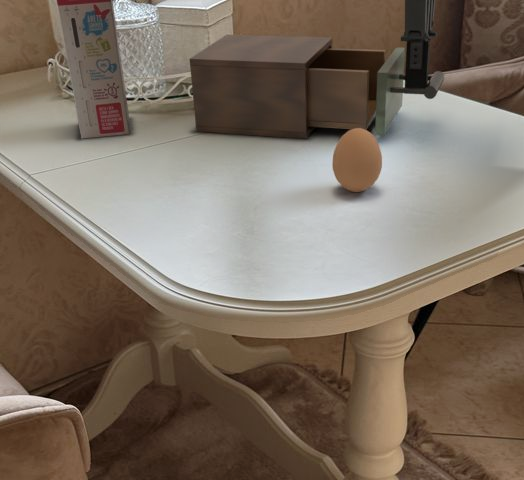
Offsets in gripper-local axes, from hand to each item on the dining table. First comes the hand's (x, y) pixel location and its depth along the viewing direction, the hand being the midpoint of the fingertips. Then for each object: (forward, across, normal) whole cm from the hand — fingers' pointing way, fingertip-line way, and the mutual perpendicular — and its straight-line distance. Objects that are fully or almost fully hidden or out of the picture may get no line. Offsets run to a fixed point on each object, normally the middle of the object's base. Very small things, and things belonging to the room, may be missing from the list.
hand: (415, 92), depth 102 cm
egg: (+5, +22, -3) cm, 23 cm away
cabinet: (+5, 0, -21) cm, 21 cm away
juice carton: (+5, +8, -42) cm, 43 cm away
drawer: (+4, 0, -7) cm, 8 cm away
